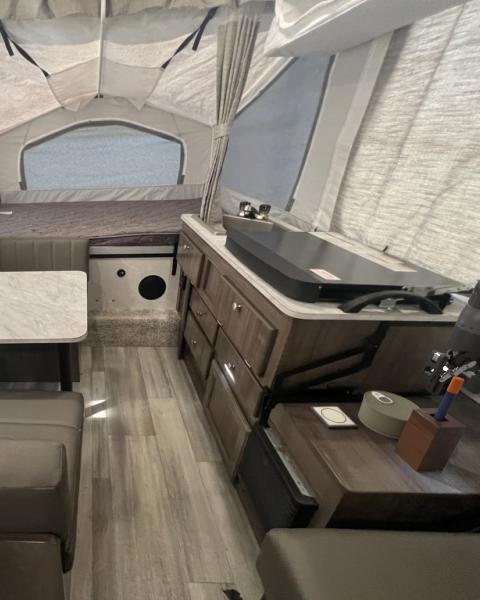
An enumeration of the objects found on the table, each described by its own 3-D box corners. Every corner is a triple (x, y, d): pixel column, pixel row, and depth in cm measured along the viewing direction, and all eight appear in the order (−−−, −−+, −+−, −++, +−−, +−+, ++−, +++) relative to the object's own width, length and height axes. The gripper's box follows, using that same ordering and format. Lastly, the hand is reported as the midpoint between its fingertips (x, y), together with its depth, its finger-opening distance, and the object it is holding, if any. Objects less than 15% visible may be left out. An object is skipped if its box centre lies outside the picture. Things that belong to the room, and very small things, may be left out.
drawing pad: (336, 407, 95) (337, 405, 95) (357, 428, 88) (358, 425, 87) (309, 408, 96) (310, 406, 95) (328, 428, 88) (328, 426, 88)
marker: (435, 429, 74) (462, 377, 68) (438, 434, 73) (466, 381, 67) (426, 427, 75) (451, 375, 69) (429, 431, 73) (455, 379, 68)
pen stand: (417, 450, 80) (439, 407, 75) (442, 471, 75) (467, 426, 69) (393, 450, 80) (413, 408, 75) (416, 471, 75) (438, 427, 70)
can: (385, 443, 83) (394, 423, 80) (346, 410, 94) (352, 392, 91) (427, 437, 83) (437, 418, 81) (383, 406, 95) (390, 388, 92)
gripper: (467, 338, 60) (435, 404, 66) (547, 335, 59) (506, 403, 65) (428, 320, 67) (402, 382, 73) (499, 318, 66) (466, 380, 72)
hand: (451, 392), depth 69 cm, fingers open, 8 cm apart
